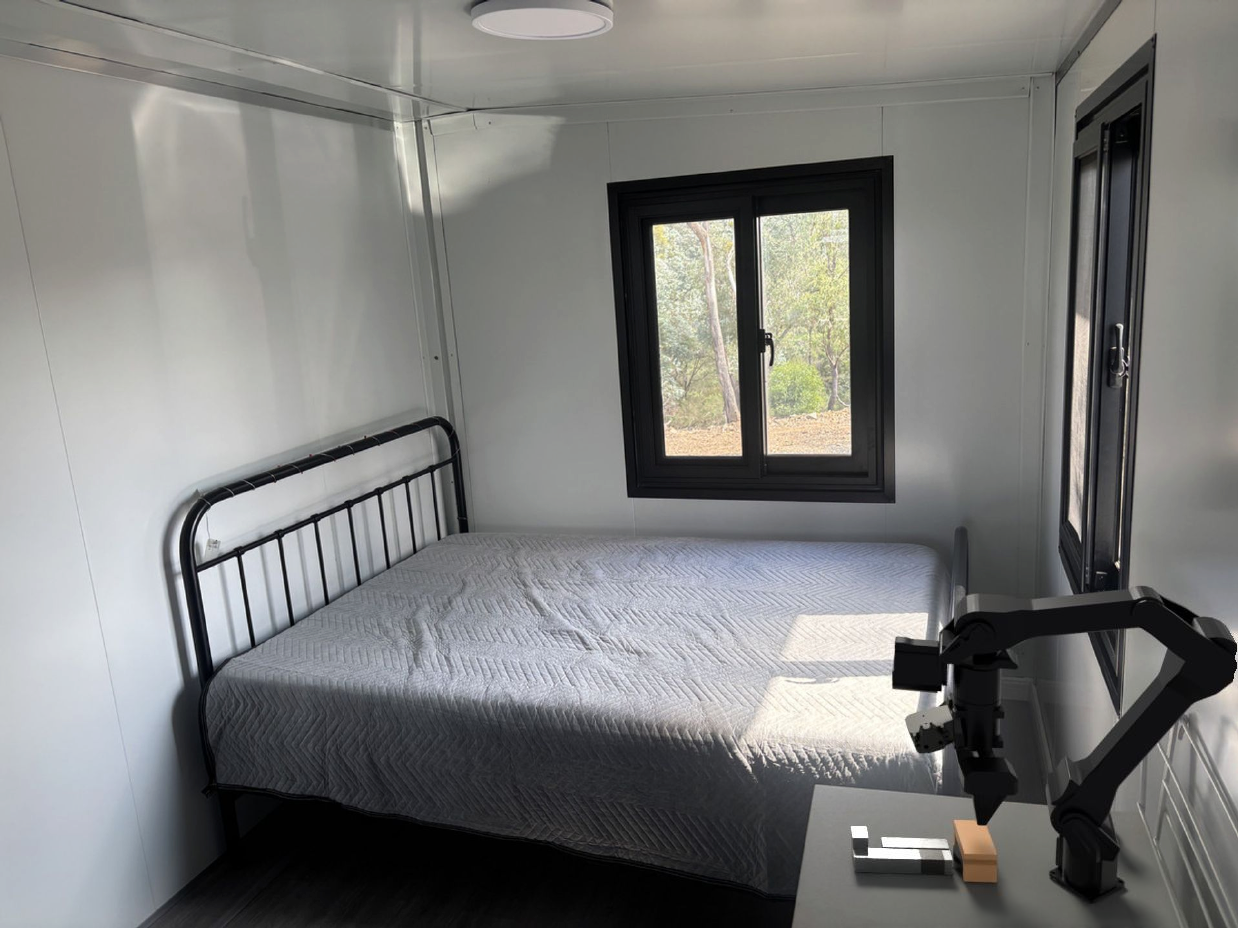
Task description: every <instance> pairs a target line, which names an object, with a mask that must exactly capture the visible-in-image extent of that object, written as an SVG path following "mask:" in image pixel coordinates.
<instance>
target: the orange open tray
mask: <svg viewBox="0 0 1238 928" xmlns="http://www.w3.org/2000/svg"><path fill="white" fill-rule="evenodd" d="M989 831H990V830H989V828H988V826H987V825H986V826H979V825H977V822H976V819H975V820H974V819H973V820H969V819H966V820H965V819H953V845H952V847H953V846H954V844H955V843H957V842H958V846H959V849H960V852H961V855H962V858H963V874H962V878H963V882H972V883H973V882H974V883H997V882H998V879H997V878H998V876H997V875H998V853H997V850H996V847H995V844H994V842H993V839H992V837H991V834H990V832H989Z"/></svg>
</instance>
